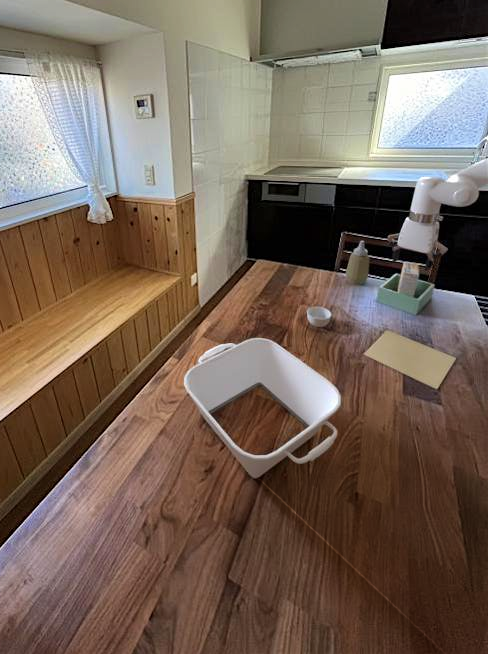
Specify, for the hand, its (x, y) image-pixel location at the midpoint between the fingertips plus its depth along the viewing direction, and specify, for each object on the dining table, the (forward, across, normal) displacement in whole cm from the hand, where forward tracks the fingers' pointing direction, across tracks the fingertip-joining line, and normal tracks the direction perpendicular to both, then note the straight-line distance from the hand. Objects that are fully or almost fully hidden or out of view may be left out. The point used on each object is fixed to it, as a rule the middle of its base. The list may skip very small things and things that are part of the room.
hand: (410, 264), depth 114 cm
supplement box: (+14, 0, 0) cm, 14 cm away
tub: (+15, +2, +78) cm, 79 cm away
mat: (+15, -12, +30) cm, 36 cm away
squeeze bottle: (+15, +18, -2) cm, 23 cm away
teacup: (+15, +14, +33) cm, 39 cm away
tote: (+15, 0, 0) cm, 15 cm away
